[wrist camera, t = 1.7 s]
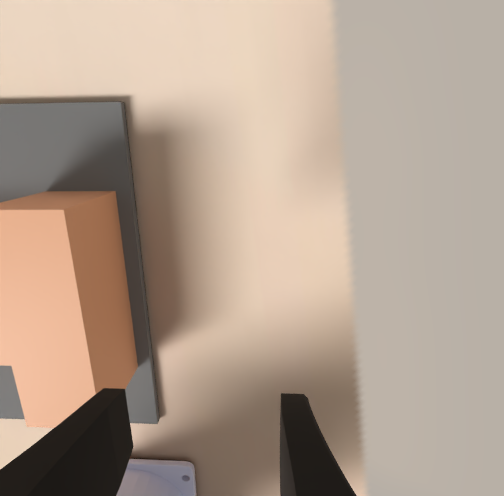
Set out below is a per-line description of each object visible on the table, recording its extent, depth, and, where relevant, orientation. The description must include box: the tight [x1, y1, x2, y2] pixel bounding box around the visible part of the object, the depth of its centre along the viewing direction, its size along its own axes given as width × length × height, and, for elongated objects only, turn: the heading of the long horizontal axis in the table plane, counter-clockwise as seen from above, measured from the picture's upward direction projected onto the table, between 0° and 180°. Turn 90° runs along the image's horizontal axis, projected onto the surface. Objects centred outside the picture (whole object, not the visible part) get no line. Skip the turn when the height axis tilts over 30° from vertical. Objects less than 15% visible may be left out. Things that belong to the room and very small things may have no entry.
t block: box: [0, 191, 138, 428], centre depth 17 cm, size 10×10×4 cm
